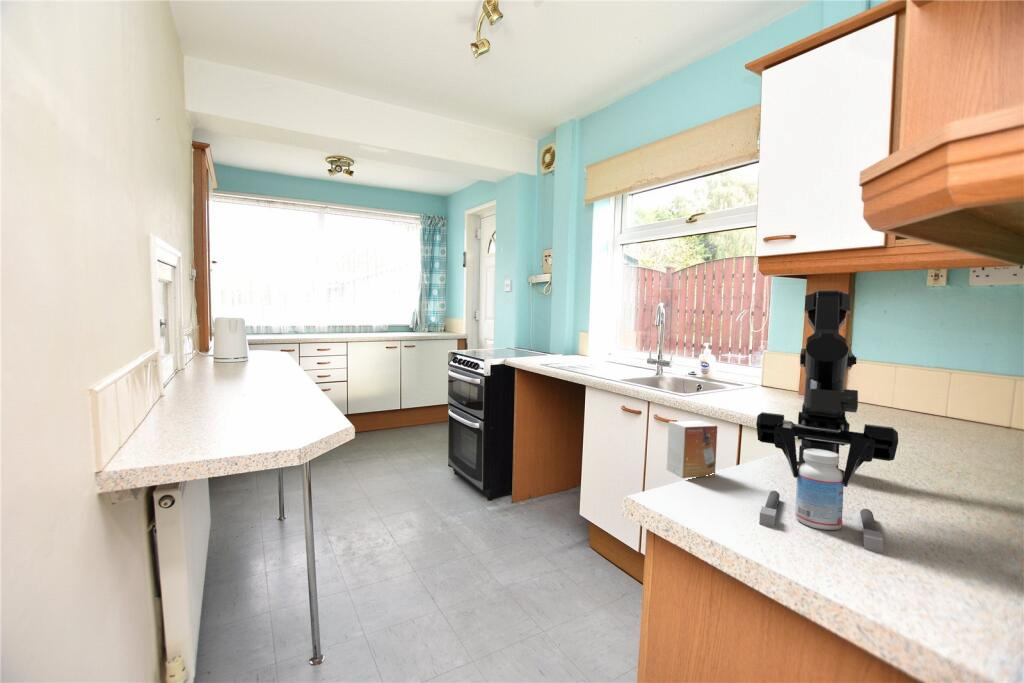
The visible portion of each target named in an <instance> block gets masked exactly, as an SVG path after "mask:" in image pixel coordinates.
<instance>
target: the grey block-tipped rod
mask: <svg viewBox="0 0 1024 683" xmlns="http://www.w3.org/2000/svg"><path fill="white" fill-rule="evenodd" d="M779 501H780V493H779V491H776V490H770V492H769V494H768V497H767V500H766V502H765V505H764V506H761V509H760V511H759V521H758V522H759V525H762V526H766V527H770V528H775V526H776V520H777V519H776V518H777V508H778V505H779Z"/></svg>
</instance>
